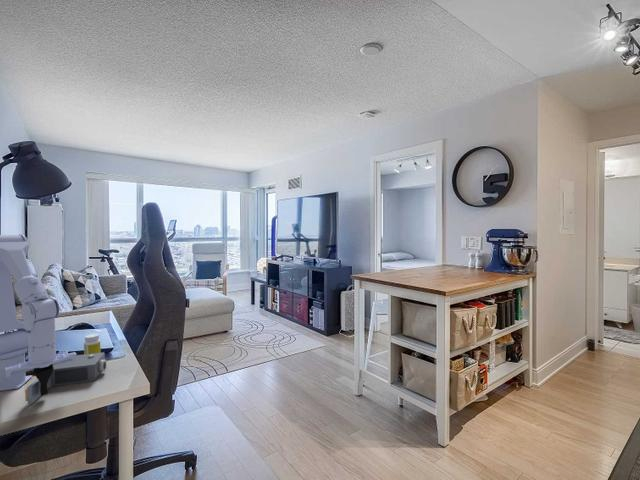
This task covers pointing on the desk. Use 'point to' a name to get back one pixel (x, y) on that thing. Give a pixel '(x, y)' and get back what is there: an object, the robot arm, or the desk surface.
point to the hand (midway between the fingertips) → (43, 393)
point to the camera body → (79, 369)
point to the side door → (34, 391)
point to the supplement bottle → (92, 344)
